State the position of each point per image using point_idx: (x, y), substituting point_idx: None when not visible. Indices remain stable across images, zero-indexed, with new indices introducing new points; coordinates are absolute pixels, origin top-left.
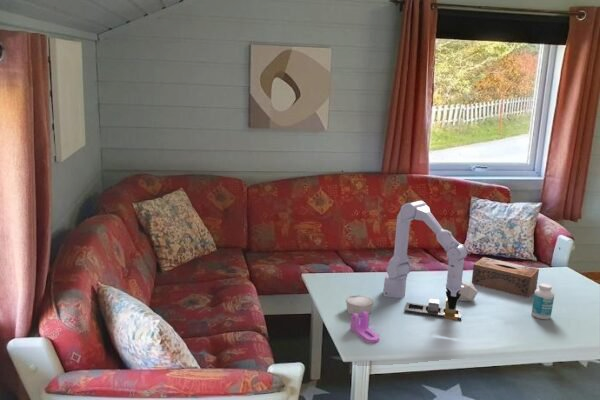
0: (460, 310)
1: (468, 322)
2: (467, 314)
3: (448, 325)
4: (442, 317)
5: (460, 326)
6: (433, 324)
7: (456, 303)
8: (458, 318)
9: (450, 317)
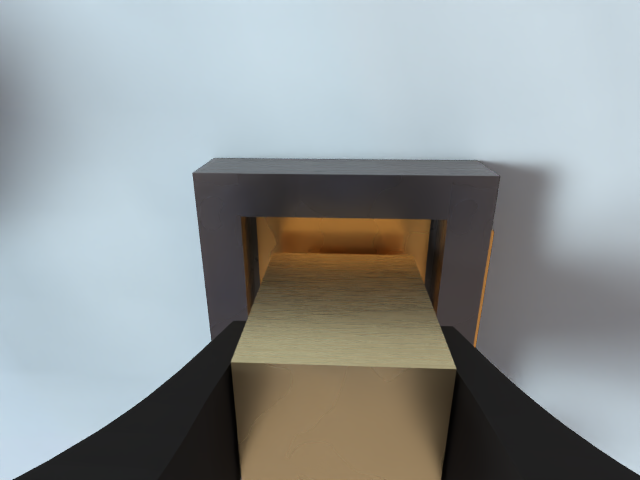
0: (218, 183)
1: (448, 54)
2: (167, 62)
3: (592, 300)
4: None
5: (604, 167)
6: (588, 430)
7: (440, 368)
8: (487, 210)
9: (478, 306)
